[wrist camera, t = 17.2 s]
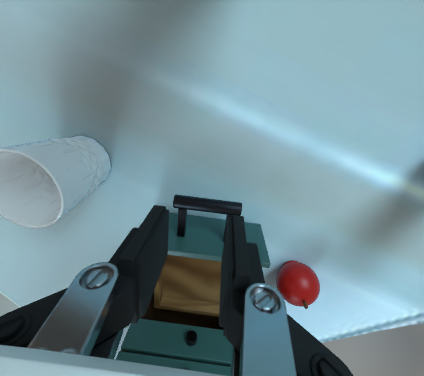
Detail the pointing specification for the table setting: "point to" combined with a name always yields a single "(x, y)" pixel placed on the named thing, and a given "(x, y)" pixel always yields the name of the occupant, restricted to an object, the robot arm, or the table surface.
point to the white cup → (49, 178)
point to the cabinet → (178, 341)
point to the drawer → (199, 256)
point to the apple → (298, 284)
